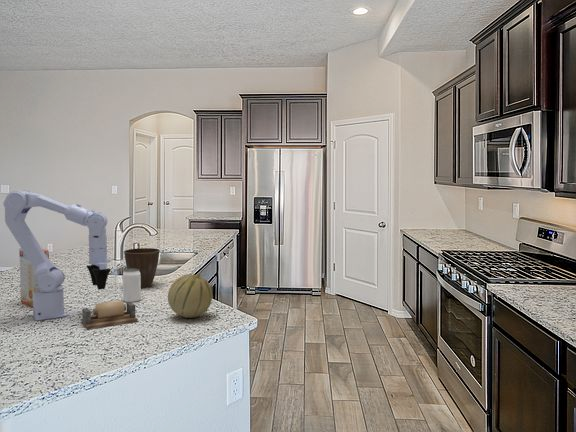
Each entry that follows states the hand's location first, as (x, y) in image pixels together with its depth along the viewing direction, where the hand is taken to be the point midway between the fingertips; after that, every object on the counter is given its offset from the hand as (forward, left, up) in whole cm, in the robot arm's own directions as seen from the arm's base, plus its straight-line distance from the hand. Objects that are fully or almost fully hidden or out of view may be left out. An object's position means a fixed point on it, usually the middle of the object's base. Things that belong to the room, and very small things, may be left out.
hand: (98, 287), depth 167 cm
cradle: (0, -12, -9) cm, 15 cm away
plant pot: (+26, +36, -10) cm, 45 cm away
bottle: (+1, -12, -8) cm, 14 cm away
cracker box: (-17, +27, -10) cm, 34 cm away
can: (+15, +13, -10) cm, 22 cm away
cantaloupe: (+25, -21, -10) cm, 34 cm away
